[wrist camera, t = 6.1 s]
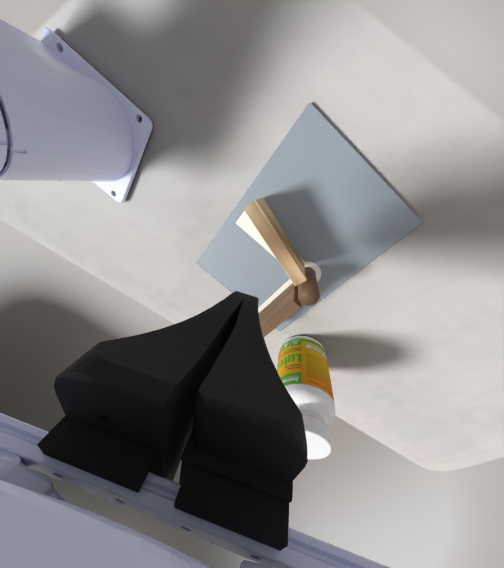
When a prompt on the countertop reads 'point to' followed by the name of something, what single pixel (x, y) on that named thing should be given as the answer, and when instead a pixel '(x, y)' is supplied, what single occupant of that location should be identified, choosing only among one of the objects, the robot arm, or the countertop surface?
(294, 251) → the wooden flat block
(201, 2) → the countertop surface
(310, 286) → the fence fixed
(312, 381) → the supplement bottle
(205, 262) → the card
